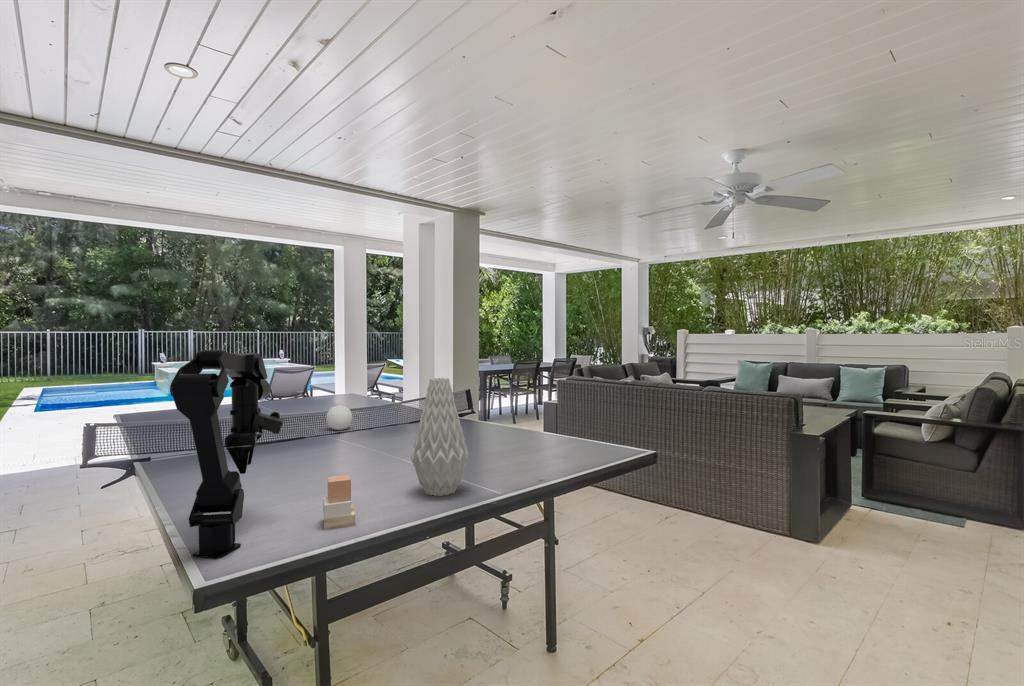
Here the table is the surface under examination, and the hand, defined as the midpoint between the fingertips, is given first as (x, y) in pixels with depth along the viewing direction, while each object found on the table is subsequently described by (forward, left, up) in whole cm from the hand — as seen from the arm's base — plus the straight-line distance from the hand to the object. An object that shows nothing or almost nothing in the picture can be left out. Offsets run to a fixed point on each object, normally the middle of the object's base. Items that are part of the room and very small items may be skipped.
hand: (245, 468), depth 123 cm
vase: (+32, -38, -13) cm, 51 cm away
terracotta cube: (+4, -22, -7) cm, 24 cm away
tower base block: (+4, -22, -13) cm, 26 cm away
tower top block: (+4, -22, -10) cm, 25 cm away
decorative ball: (+118, +44, -13) cm, 127 cm away
